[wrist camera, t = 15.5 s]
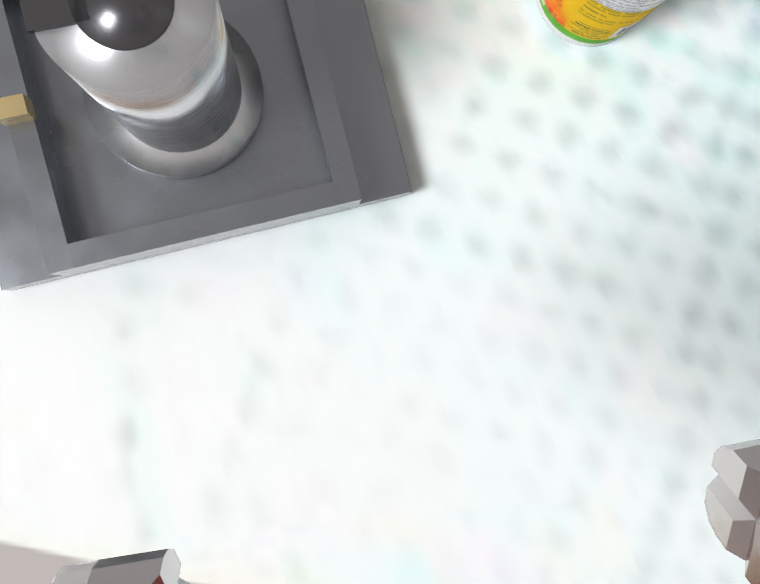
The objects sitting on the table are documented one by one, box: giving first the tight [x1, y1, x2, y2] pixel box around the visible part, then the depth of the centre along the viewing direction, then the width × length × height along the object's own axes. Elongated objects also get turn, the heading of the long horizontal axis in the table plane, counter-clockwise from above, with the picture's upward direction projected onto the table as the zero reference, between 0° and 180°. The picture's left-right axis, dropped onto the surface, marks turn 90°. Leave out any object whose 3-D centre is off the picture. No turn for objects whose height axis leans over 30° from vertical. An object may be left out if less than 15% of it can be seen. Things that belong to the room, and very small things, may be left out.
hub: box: [19, 0, 242, 153], centre depth 22 cm, size 6×5×8 cm
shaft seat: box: [0, 0, 412, 290], centre depth 26 cm, size 18×13×3 cm
